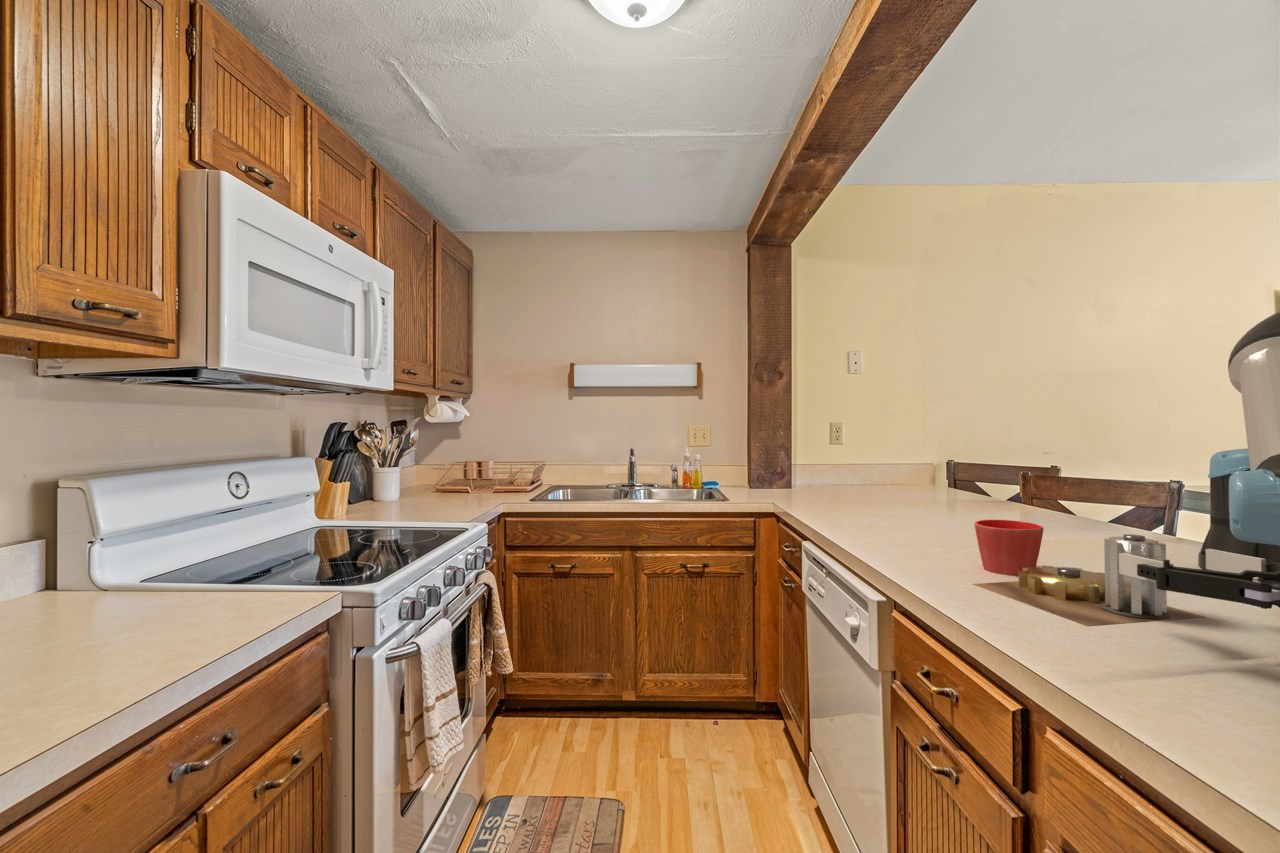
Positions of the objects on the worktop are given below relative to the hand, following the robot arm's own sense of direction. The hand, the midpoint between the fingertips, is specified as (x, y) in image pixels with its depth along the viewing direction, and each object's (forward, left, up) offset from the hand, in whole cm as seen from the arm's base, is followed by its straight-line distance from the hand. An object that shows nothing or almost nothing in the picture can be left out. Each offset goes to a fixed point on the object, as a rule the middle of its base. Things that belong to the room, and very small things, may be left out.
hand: (1164, 561), depth 81 cm
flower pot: (-2, -30, -10) cm, 32 cm away
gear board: (+2, -12, -9) cm, 15 cm away
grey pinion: (-1, -5, -8) cm, 10 cm away
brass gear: (-1, -16, -8) cm, 18 cm away
